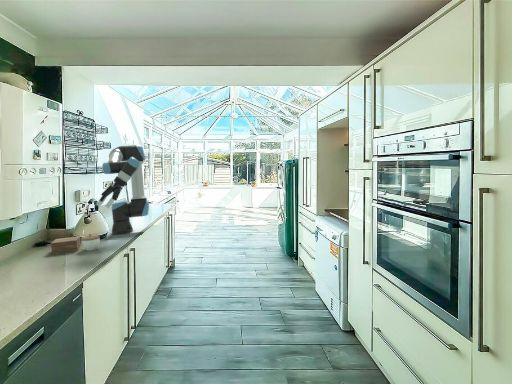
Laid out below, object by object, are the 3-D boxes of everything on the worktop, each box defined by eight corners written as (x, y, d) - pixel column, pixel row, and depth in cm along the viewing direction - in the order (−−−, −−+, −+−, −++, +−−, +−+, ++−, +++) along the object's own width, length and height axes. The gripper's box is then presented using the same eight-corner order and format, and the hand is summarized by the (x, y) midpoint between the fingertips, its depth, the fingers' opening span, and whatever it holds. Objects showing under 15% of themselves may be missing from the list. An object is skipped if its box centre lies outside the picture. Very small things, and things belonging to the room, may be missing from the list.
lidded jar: (88, 252, 234) (86, 236, 233) (78, 250, 241) (76, 235, 240) (104, 248, 243) (102, 233, 242) (94, 246, 249) (93, 232, 248)
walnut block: (57, 249, 249) (55, 238, 248) (81, 247, 252) (80, 236, 252) (52, 254, 235) (50, 243, 235) (77, 251, 239) (76, 240, 238)
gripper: (119, 179, 241) (99, 208, 239) (133, 184, 266) (114, 211, 264) (109, 172, 242) (89, 201, 240) (124, 178, 267) (105, 204, 265)
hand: (102, 206), depth 252 cm, fingers open, 13 cm apart
